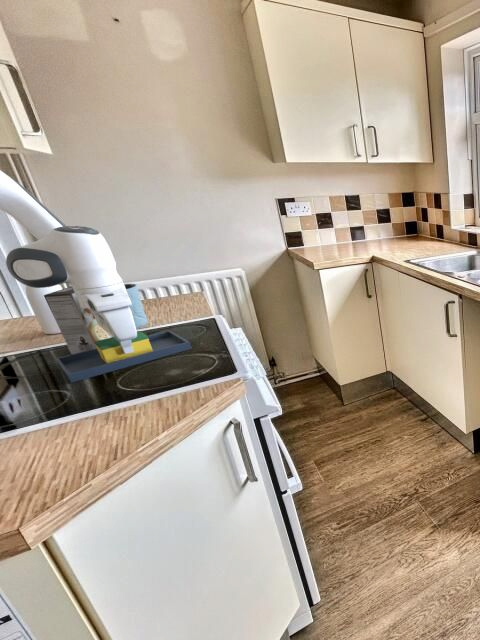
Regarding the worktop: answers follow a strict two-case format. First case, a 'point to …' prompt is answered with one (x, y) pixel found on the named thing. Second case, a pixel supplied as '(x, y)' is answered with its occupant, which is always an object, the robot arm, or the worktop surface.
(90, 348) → the coffee box
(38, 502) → the worktop surface
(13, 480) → the worktop surface
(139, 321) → the light blue textured cup
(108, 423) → the worktop surface
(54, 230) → the robot arm
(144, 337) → the sponge
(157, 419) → the worktop surface
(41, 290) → the milk bottle
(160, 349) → the tray
